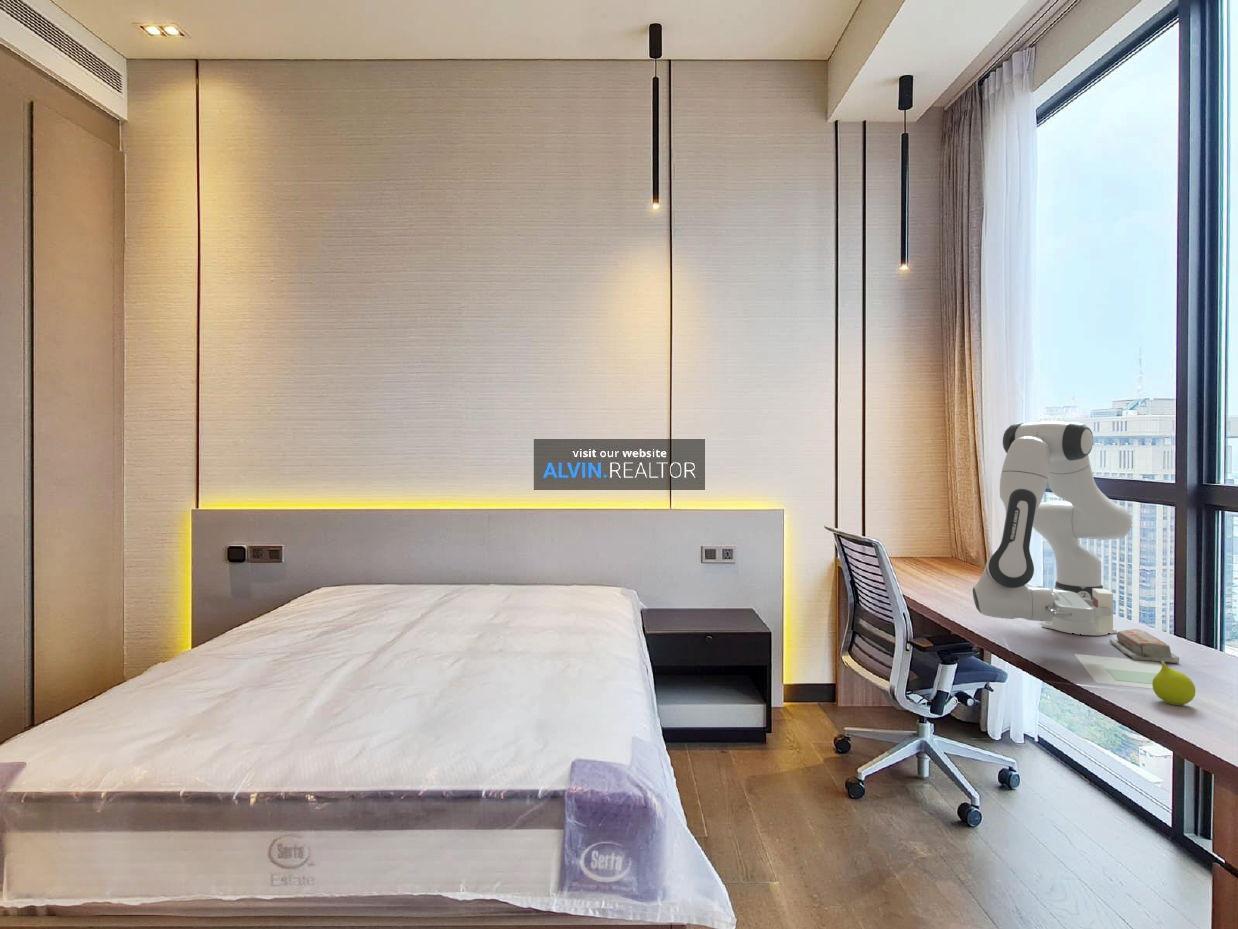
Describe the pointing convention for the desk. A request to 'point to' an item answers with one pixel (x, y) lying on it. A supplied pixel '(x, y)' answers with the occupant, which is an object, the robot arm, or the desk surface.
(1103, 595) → the card box
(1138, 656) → the packaged product
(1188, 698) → the yellow-green rounded piece
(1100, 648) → the desk surface
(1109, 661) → the mat
